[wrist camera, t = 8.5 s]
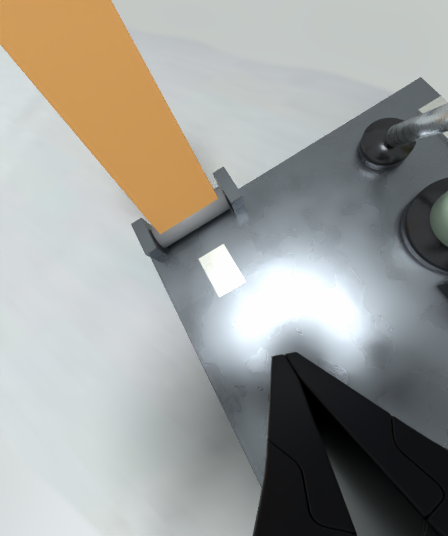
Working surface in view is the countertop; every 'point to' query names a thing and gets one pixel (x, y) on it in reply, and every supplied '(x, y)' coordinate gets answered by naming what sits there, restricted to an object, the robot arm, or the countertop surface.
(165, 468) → the countertop surface
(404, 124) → the toggle
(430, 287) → the panel
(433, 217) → the button
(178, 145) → the paddle
